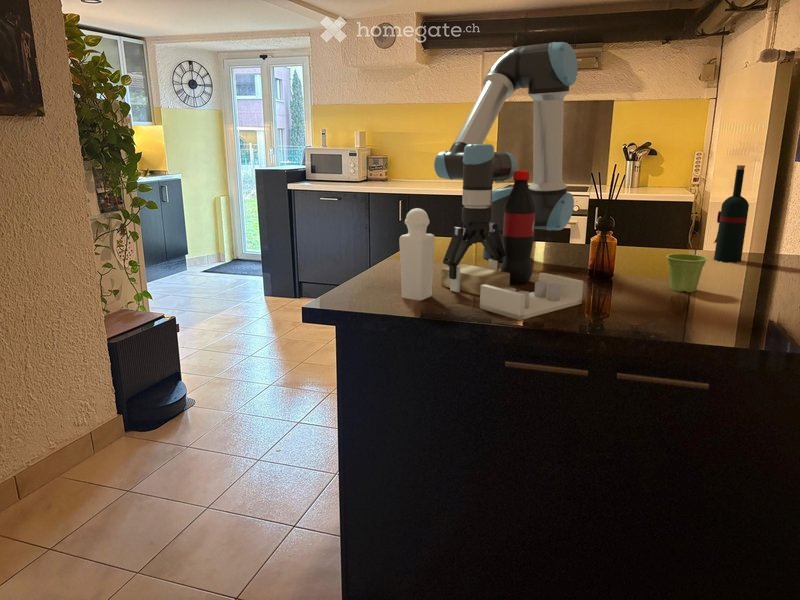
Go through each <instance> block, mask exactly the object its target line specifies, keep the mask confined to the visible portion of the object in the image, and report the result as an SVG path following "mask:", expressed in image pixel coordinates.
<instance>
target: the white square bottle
mask: <svg viewBox="0 0 800 600" xmlns="http://www.w3.org/2000/svg"><path fill="white" fill-rule="evenodd" d="M429 224H431V223H430V219H429V216H428V213H427V211H425V210H424V209H423V208H419V207H418V208H417V207H415V208H412V209H410V210H409V211H408V212H407V213H406V216H405V219H404V225H406V227H407V233H406V234H402V235H401V236H400V237H398V238H399V239H398V240H399V241H398V242H399V243H398V244H399V260H400V261H399V262H400V265H399V267H400V282H401V283H400V286H401V289H400V290H401V298H402V299H407V300H412V301H419V302H420V301H424V300H426V299H428V298H430V297H432V294H433V278H434V277H433V276H434V261H435V243H436V242H435V241H436V239H435V238H436V237H435V235H434V234H432V233H427V229H428V226H429Z"/></svg>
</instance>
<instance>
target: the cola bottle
mask: <svg viewBox="0 0 800 600" xmlns="http://www.w3.org/2000/svg"><path fill="white" fill-rule="evenodd" d="M512 178H513V182H514V183H513V186H512V187H513V189H512V191H511V193H510V195H509V197H508V199H507V201H506V203H505V206H504V225H503V248H504V252H505V256H504V261H502V264H501V268H500V271H502V272H507V273H510V284H511V285H512V284H513V285H521V284H522V285H523V284H527V283H528V282H529V281H530V280H531V278H532V275H533V265H532V261H531V255H532V251H533V246H534V241H535V235H534V234H535V229H534V222H535V212H536V208H535V204H534V201H533V198H532V196H531V193H530V191H529V188H528V187H529V182H528V181H529V180H530V172H529V171H528V170H517V171H515V172H514V176H513V177H512Z"/></svg>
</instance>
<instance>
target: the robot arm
mask: <svg viewBox="0 0 800 600" xmlns="http://www.w3.org/2000/svg"><path fill="white" fill-rule="evenodd" d="M577 76H578V60H577V55H576V52H575V51H574V48H573V47H572V46H571V44H569V43H567V42H563V41H558V42H556V41H553V42H546V43H539V44H531V45H519V46H517V47H513V48H511V49H510V50H508V51H506V52H505V53H504V54H503V55H501V56H500V57H499V58H498V59H497V60H496V61H495V62H494V63H493V65H492V66H491V67H490V68H489V70H488V71H487V72H486V75H485V76H484V78H483V82H482V86H483V88H482V89H481V91H480V93H479V94H478V96H477V99H476V101H475V102H474V104H473V106H472V107H471V110H470V112H469V113H468V114H467V117H466V119H465V121H464V122H463V125H462V127H461V128H460V130H459V132H458V133H457V136H456V137H455V139H454V141H453V143H452V144H451V147H450V149H448V151H447V150H444V151H440V152H439V153H437V154H436V156H435V158H434V163H433V167H434V171H435V174H436V176H437V177H438V178H440V179H445V180H451V181H452V180H459V181H460V180H462V198H461V199H462V201H461V204H462V205H463V206H462V209H461V222H462V223H463V226H462V227H460V226H459V227H458V226H454V227H453V228H452V229H453V230H452V237H451V239H450V242H449V244H448V247H447V249H446V252H445V255H444V258H443V259H442V263H443V264H442V265H446V266H447V267H449V278H450V279H451V283H450V291H452V292H455V293H460V292H461V290H460V267H458V265H460V263H461V261H462V259H463V258H464V256H465V255H466V253H467V251H468V250H469V248H470V247H471V246H473V244H474V245H475V244H478V243H479V244H481V245H482V246H483V249H482V258H484V259H486V260H488V264H487V265H488V266H487V269H492V270H497V271H500V270H499V269H500V267H499V265H500V262H503V261H504V256H505V252H504V248H503V225H504V206H505V203H506V201H507V199H508V197H509V195H510V193H511V191H512V189H513V186H511V187H505V188H503V187H502V188H496V189H493V183H494V182H504V181H508V180H510V179H512V178H513V177H514V172H515V171H518V161H517V159H516V157H515V155H513V154H512V153H511V152H509V151H508V152H507V151H504V150H503V151H495V148H494V145H493V144H490V143H489V144H487V143H485V144H484V142H485V140H486V138H487V136H488V135H489V132H490V131H491V129H492V127H493V125H494V123H495V121H496V120H497V117H498V115H499V113H500V112H501V110H502V108H503V105H504V103H505V102H506V100H507V99H510V98H511V97H512V96H513V94H514V92H515V91H516V90H520V89H528V90H527V92H528V96H529V97H530V98H531V99H532V101H533V125H532V126H533V130H532V131H533V133H532V134H533V135H532V136H533V141H532V143H533V144H532V146H533V148H532V149H533V165H532V168H533V172H532V173H533V174H532V175H533V179H532V180H533V181H532V182H531V184H530V185H528V188H529V191H530V193H531V196H532V198H533V201H534V204H535V208H536V212H535V222H534V230H535V229H537V230H547V231H561V230H563V229H564V228H566V227H567V225H568V224H569V222H570V219H571V217H572V215H573V211H574V206H575V205H574V204H575V199H574V196H573V194H572V193H571V192H568V185H567V184H566V183H565V182H564V180H563V150H564V148H563V146H564V145H563V144H564V143H563V142H564V103H565V102H564V101H565V100H564V99H565V97H566V96H567V95H568V94H569V93H570V86H572V85H574V84H575V82H576V81H577Z"/></svg>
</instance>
